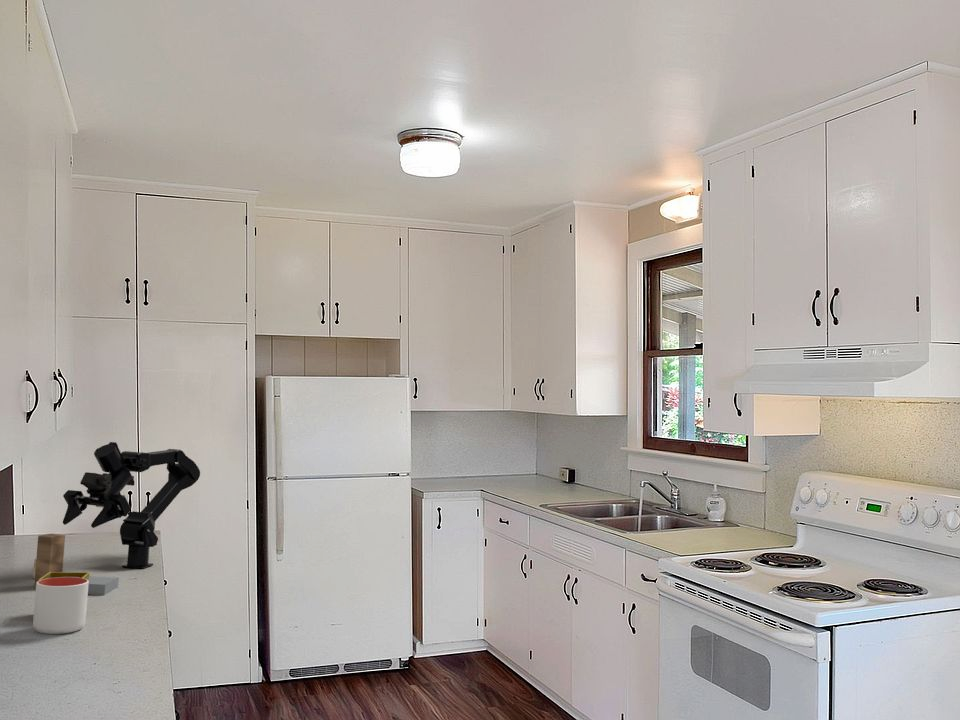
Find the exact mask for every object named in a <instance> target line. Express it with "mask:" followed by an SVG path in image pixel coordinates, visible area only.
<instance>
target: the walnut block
mask: <svg viewBox="0 0 960 720" xmlns="http://www.w3.org/2000/svg"><path fill="white" fill-rule="evenodd" d="M65 542H66V534H59V533H46V534H39V535H37V548H36V557H35V558H36V570H35V579H34V583H33V587H34V588H36V583H37V582H38V580H39V579H40V578H42V577H43V576H45V575H46V574H47V573H49V572H63V571H64V570H63V568H64V567H63V566H64V556H65V544H66V543H65Z"/></svg>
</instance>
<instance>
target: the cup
mask: <svg viewBox="0 0 960 720" xmlns="http://www.w3.org/2000/svg"><path fill="white" fill-rule="evenodd" d="M88 584H89V581H88V580H87V579H84V578H78V577H56V578H48V579H43V580H40V581H38V582H37V583H36V587H35V595H34V597H35V598H34V607H33V619H32V621H33V622H32V626H33V629H34V631H36V632H38V633H41V634H47V635H64V634H70V633H74V632H76V631H79V630H81V629H83V628H84V626H85V625H86V620H87V607H88V596H89V595H88Z"/></svg>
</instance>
